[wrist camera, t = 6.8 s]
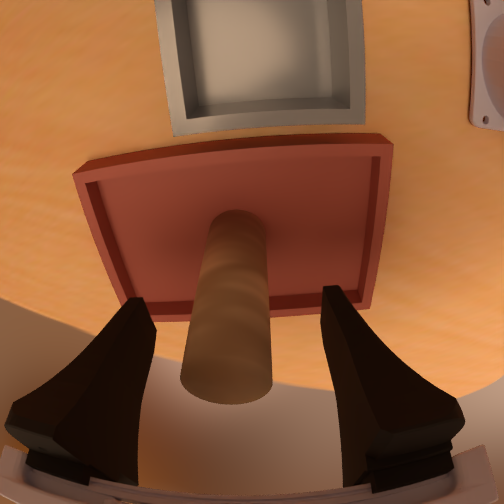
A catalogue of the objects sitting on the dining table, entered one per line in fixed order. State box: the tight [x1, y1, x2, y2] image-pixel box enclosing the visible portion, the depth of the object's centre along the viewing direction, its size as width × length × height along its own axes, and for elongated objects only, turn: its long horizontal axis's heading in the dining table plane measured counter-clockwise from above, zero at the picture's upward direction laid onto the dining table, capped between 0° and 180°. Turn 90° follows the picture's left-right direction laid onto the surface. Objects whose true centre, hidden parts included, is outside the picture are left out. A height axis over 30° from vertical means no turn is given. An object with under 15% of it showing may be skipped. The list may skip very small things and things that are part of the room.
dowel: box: [180, 210, 272, 405], centre depth 14 cm, size 3×3×9 cm
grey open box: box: [154, 0, 365, 137], centre depth 11 cm, size 7×7×4 cm
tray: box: [72, 133, 393, 322], centre depth 17 cm, size 15×10×2 cm
